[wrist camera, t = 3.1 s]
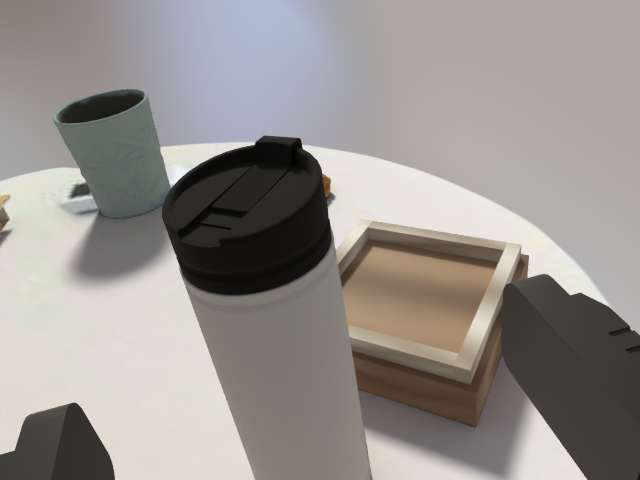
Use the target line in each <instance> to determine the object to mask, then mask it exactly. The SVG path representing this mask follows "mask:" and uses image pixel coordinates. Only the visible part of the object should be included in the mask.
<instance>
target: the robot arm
mask: <svg viewBox="0 0 640 480" xmlns="http://www.w3.org/2000/svg"><path fill="white" fill-rule="evenodd" d="M501 348H502V353H503V356H504V359H505V362H506V364H507V366H508V368H509V370H510V372H511V373H512V375H513V376H514V378H515V379H516V381H517V382H518V383H519V385H520V386H521V388H522V389H523V390H524V392H525V393H526V395H527V396H528V397H529V399H530V400H531V402H532V403H533V404H534V406H535V407H536V409H537V410H538V411H539V413H540V414H541V415H542V417H543V418H544V420H545V421H546V422H547V424H548V425H549V427H550V428H551V429H552V431H553V432H554V434H555V435H556V436H557V438H558V439H559V441H560V442H561V443H562V445H563V446H564V448H565V449H566V450H567V452H568V453H569V455H570V456H571V457H572V459H573V460H574V462H575V463H576V464H577V466H578V467H579V469H580V470H581V471H582V473H583V474H584V476H585V477H586V478H587V480H640V335H639V334H638V333H636V332H635V331H631V329H630V326H629V325H628V324H627V323H626V322H625V321H624V320H622V319H621V318H620V317H619V316H618V315H617V314H616V313H615V312H614V311H613V310H612V309H611V308H609V307H608V306H606V305H604V304H602V303H600V302H598V301H596V300H594V299H592V298H590V297H588V296H586V295H584V294H582V293H577V294H574V295H569V294H568V293H567V292H566V291H565V290H564V289H563V288H562V287H561V286H560V285H559V284H558V283H557V282H556V281H555V280H554V279H553V278H552V277H550V276H549V275H546V274H541V275H538V276H534V277H530V278H527V279H523V280H519V281H516V282H512V283H508V284H506V285H505V287H504V289H503V301H502V325H501ZM0 480H115V476H114V469H113V465H112V461H111V458H110V456H109V454H108V452H107V450H106V449H105V447H104V445H103V444H102V442H101V440H100V438H99V437H98V435H97V433H96V432H95V430H94V428H93V427H92V425H91V423H90V422H89V420H88V418H87V417H86V415H85V413H84V412H83V410H82V408H81V407H80V406H79V405H78V404H77V403H70V404H67V405H63V406H59V407H56V408H52V409H48V410H45V411H41V412H37V413H33V414H30V415H28V416H27V417H26V419H25V420H24V423H23V425H22V429H21V432H20V435H19V438H18V442H17V445H16V448H15V451H12V452H9V453H5V454H1V455H0Z"/></svg>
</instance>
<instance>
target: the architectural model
mask: <svg viewBox="0 0 640 480" xmlns="http://www.w3.org/2000/svg"><path fill="white" fill-rule="evenodd" d="M10 198H11V197H10V195H4V196H0V221H5V220H9V219H10V218H9V216H8V214H7V213H6V211H5V209H4V207H3V206H4V205H5V203H6V202H7V201H8V200H9V199H10ZM2 227H3V225H2V224H1V222H0V228H2Z"/></svg>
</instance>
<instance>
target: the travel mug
mask: <svg viewBox="0 0 640 480" xmlns="http://www.w3.org/2000/svg"><path fill="white" fill-rule="evenodd" d="M162 218H163V221H164V224H165V226H166V229H167V232H168V235H169V238H170V240H171V243H172V246H173V249H174V251H175V254H176V255H177V260H178V263H179V270H180V273H181V275H182V278H183V281H184V283H185V286H186V289H187V292H188V295H189V297H190V300H191V303H192V306H193V308H194V311H195V314H196V317H197V320H198V322H199V325H200V328H201V331H202V333H203V336H204V339H205V342H206V344H207V347H208V350H209V353H210V355H211V358H212V361H213V364H214V366H215V369H216V372H217V375H218V378H219V380H220V383H221V386H222V389H223V391H224V394H225V397H226V400H227V402H228V405H229V408H230V411H231V413H232V416H233V419H234V422H235V425H236V427H237V430H238V433H239V436H240V438H241V441H242V444H243V447H244V449H245V452H246V455H247V458H248V460H249V463H250V466H251V469H252V471H253V474H254V477H255V480H372V477H371V469H370V463H369V457H368V450H367V444H366V438H365V431H364V425H363V419H362V412H361V406H360V400H359V393H358V387H357V381H356V375H355V368H354V362H353V356H352V349H351V343H350V337H349V330H348V324H347V318H346V312H345V305H344V299H343V293H342V286H341V280H340V274H339V267H338V261H337V255H336V249H335V246H334V236H333V231H332V229H331V226H330V220H329V218H328V207H327V201H326V195H325V189H324V183H323V176H322V170H321V167H320V165H319V163H318V161H317V160H316V159H315V158H314V157H313V156H312V155H311V154H310V153H309V152H307V151H305V150H303V148H302V143H301V140H300V138H289V137H276V136H263V137H262V138H260V139H259V140H258V141H257V142H256V143H255V145H252V146H247V147H242V148H238V149H234V150H231V151H228V152H225V153H222V154H220V155H217V156H215V157H213V158H211V159H209V160H207V161H205V162H203V163H201V164H199V165H198V166H196V167H195V168H193V169H192V170H190V171H189V172H188V173H186V174H185V175H184V176H183V177H182V178H180V179H179V180H178V182H177V183H176V184H175V185H174V186H173V187H172V188H171V190H170V191H169V193H168V195H167V196H166V198H165V201H164V204H163V207H162Z"/></svg>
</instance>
